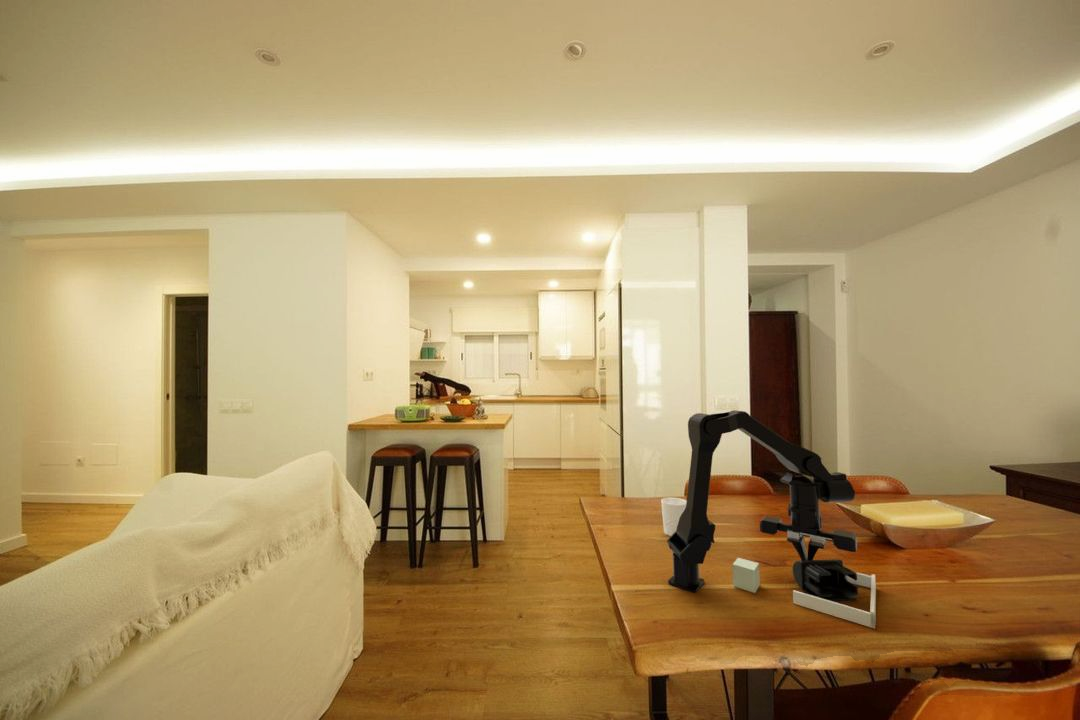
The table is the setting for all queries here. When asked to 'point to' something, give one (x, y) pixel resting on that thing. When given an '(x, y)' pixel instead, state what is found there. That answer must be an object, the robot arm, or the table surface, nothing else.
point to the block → (746, 575)
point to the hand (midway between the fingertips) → (807, 569)
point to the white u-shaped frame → (841, 609)
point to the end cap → (826, 579)
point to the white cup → (672, 513)
